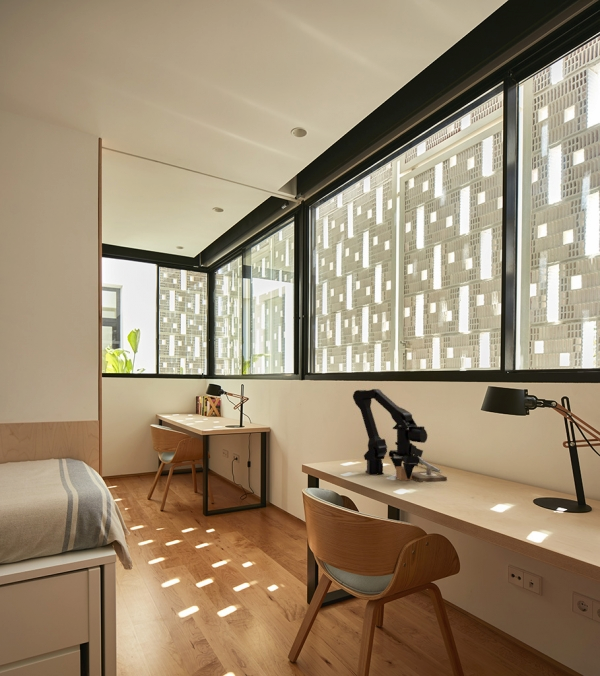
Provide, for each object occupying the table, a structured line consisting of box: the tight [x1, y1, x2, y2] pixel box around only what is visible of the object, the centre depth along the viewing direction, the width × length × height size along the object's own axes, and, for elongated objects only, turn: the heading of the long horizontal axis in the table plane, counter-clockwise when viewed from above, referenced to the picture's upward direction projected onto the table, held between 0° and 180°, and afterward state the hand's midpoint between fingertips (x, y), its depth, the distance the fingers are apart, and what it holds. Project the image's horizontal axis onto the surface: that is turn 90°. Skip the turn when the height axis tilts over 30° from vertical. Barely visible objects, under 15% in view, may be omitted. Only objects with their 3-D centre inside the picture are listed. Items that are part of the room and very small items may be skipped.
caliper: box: [418, 456, 442, 473], centre depth 225 cm, size 20×1×6 cm, turn 24°
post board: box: [412, 464, 448, 483], centre depth 203 cm, size 13×13×6 cm
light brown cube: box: [395, 465, 413, 481], centre depth 201 cm, size 5×5×5 cm
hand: (403, 476), depth 201 cm, fingers open, 9 cm apart
